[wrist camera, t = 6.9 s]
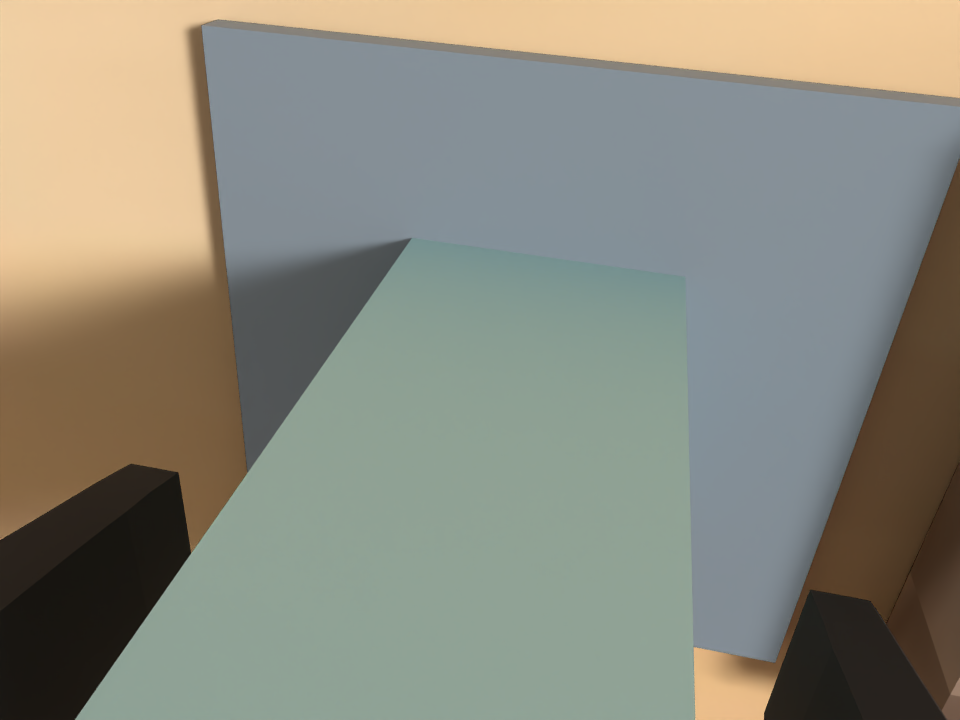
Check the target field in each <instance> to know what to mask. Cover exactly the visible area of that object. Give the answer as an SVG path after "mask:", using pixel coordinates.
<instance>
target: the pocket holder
mask: <svg viewBox="0 0 960 720" xmlns="http://www.w3.org/2000/svg"><path fill="white" fill-rule="evenodd" d="M886 625H887V627H888V628H889V630H890V631H891V633H892V635H893V636H894V638H895V639H896V641H897V642H898V644H899V646H900V647H901V649H902V650H903V652H904V653H905V655H906V657H907V658H908V660H909V661H910V663H911V664H912V666H913V668H914V669H915V671H916V672H917V674H918V675H919V677H920V679H921V680H922V682H923V683H924V685H925V686H926V688H927V689H928V691H929V692H930V694H931V696H932V697H933V699H934V700H935V702H936V703H937V705H938V706H939V708H940V709H941V711H942V712H943V714H944V715H945V717H946V719H947V720H960V463H959V465H958V467H957V469H956V471H955V474H954V476H953V478H952V480H951V482H950V485H949V487H948V489H947V491H946V494H945V496H944V498H943V500H942V502H941V505H940V507H939V509H938V511H937V513H936V516H935V518H934V520H933V522H932V525H931V527H930V529H929V531H928V533H927V536H926V538H925V540H924V542H923V544H922V547H921V549H920V551H919V553H918V556H917V558H916V560H915V562H914V564H913V567H912V569H911V571H910V573H909V575H908V578H907V580H906V582H905V584H904V586H903V589H902V591H901V593H900V595H899V598H898V600H897V602H896V604H895V606H894V609H893V611H892V613H891V615H890V617H889V620H888V622H887V624H886Z"/></svg>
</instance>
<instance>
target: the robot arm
mask: <svg viewBox="0 0 960 720" xmlns="http://www.w3.org/2000/svg"><path fill="white" fill-rule="evenodd" d="M190 555H191V550H190V544H189V537H188V531H187V524H186V518H185V512H184V505H183V499H182V493H181V486H180V480H179V474H178V472H173V471H167V470H162V469H157V468H151V467H146V466H140V465H135V464H129V465H128V466H126V467H124V468H122V469H120V470H118V471H117V472H115V473H113V474H111V475H109V476H108V477H106V478H104V479H102V480H101V481H99V482H97V483H96V484H94V485H92V486H90V487H89V488H87V489H85V490H84V491H82V492H80V493H79V494H77V495H75V496H74V497H72V498H70V499H69V500H67V501H65V502H64V503H62V504H60V505H59V506H57V507H55V508H54V509H52V510H50V511H49V512H47V513H45V514H44V515H42V516H40V517H39V518H37V519H35V520H34V521H32V522H30V523H29V524H27V525H25V526H24V527H22V528H20V529H18V530H17V531H15V532H13V533H12V534H10V535H8V536H7V537H5V538H3V539H1V540H0V720H75V719H76V718H77V716H78V715H79V713H80V712H81V710H82V709H83V708H84V706H85V705H86V703H87V702H88V700H89V699H90V698H91V696H92V695H93V693H94V692H95V690H96V689H97V688H98V686H99V685H100V683H101V682H102V680H103V679H104V678H105V676H106V675H107V673H108V672H109V670H110V669H111V668H112V666H113V665H114V663H115V662H116V660H117V659H118V658H119V656H120V655H121V653H122V652H123V650H124V649H125V648H126V646H127V645H128V643H129V642H130V640H131V639H132V638H133V636H134V635H135V633H136V632H137V630H138V629H139V628H140V626H141V625H142V623H143V622H144V620H145V619H146V617H147V616H148V615H149V613H150V612H151V610H152V609H153V607H154V606H155V605H156V603H157V602H158V600H159V599H160V597H161V596H162V595H163V593H164V592H165V590H166V589H167V587H168V586H169V585H170V583H171V582H172V580H173V579H174V577H175V576H176V575H177V573H178V572H179V570H180V569H181V567H182V566H183V565H184V563H185V562H186V560H187V559H188V557H189V556H190ZM764 720H947V719H946V717H945V715H944V714H943V712H942V711H941V709H940V708H939V706H938V705H937V703H936V702H935V700H934V699H933V697H932V696H931V694H930V692H929V691H928V689H927V688H926V686H925V685H924V683H923V682H922V680H921V679H920V677H919V675H918V674H917V672H916V671H915V669H914V668H913V666H912V664H911V663H910V661H909V660H908V658H907V657H906V655H905V653H904V652H903V650H902V649H901V647H900V646H899V644H898V642H897V641H896V639H895V638H894V636H893V635H892V633H891V631H890V630H889V628H888V627H887V625H886V624H885V622H884V620H883V619H882V617H881V616H880V614H879V613H878V611H877V610H876V608H875V607H874V606H873V604H872V603H871V601H868V600H863V599H858V598H852V597H847V596H842V595H836V594H831V593H825V592H820V591H815V590H810V591H809V594H808V597H807V599H806V602H805V605H804V607H803V610H802V613H801V615H800V618H799V621H798V623H797V626H796V629H795V632H794V634H793V637H792V640H791V642H790V645H789V648H788V650H787V653H786V656H785V658H784V661H783V664H782V666H781V669H780V672H779V674H778V677H777V680H776V683H775V685H774V688H773V691H772V693H771V696H770V699H769V701H768V704H767V707H766V709H765V712H764Z"/></svg>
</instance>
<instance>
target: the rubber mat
mask: <svg viewBox="0 0 960 720" xmlns="http://www.w3.org/2000/svg"><path fill="white" fill-rule="evenodd" d="M201 26H202V35H203V45H204V55H205V64H206V74H207V84H208V94H209V103H210V113H211V123H212V133H213V142H214V152H215V162H216V171H217V181H218V191H219V201H220V210H221V220H222V230H223V240H224V249H225V259H226V269H227V278H228V288H229V298H230V308H231V317H232V327H233V337H234V347H235V356H236V366H237V376H238V385H239V395H240V405H241V415H242V424H243V434H244V444H245V454H246V463H247V473H248V472H249V470H250V469H251V467H252V466H253V465H254V463H255V462H256V460H257V459H258V457H259V456H260V455H261V453H262V452H263V450H264V449H265V447H266V446H267V445H268V443H269V442H270V440H271V439H272V437H273V436H274V435H275V433H276V432H277V430H278V429H279V427H280V426H281V425H282V423H283V422H284V420H285V419H286V417H287V416H288V415H289V413H290V412H291V410H292V409H293V407H294V406H295V405H296V403H297V402H298V400H299V399H300V397H301V396H302V395H303V393H304V392H305V390H306V389H307V387H308V386H309V385H310V383H311V382H312V380H313V379H314V377H315V376H316V375H317V373H318V372H319V370H320V369H321V367H322V366H323V365H324V363H325V362H326V360H327V359H328V357H329V356H330V355H331V353H332V352H333V350H334V349H335V347H336V346H337V345H338V343H339V342H340V340H341V339H342V337H343V336H344V335H345V333H346V332H347V330H348V329H349V327H350V326H351V325H352V323H353V322H354V320H355V319H356V317H357V316H358V315H359V313H360V312H361V310H362V309H363V307H364V306H365V305H366V303H367V302H368V300H369V299H370V297H371V296H372V295H373V293H374V292H375V290H376V289H377V287H378V286H379V285H380V283H381V282H382V280H383V279H384V277H385V276H386V275H387V273H388V272H389V270H390V269H391V267H392V266H393V265H394V263H395V262H396V260H397V259H398V257H399V256H400V255H401V253H402V252H403V250H404V249H405V247H406V246H407V245H408V243H409V242H410V240H411V239H412V238H417V239H424V240H431V241H438V242H445V243H452V244H459V245H466V246H473V247H480V248H487V249H494V250H501V251H508V252H515V253H522V254H529V255H536V256H543V257H550V258H557V259H564V260H571V261H578V262H585V263H592V264H599V265H606V266H613V267H620V268H627V269H634V270H641V271H648V272H655V273H662V274H669V275H676V276H683V277H685V285H686V331H687V376H688V421H689V467H690V512H691V558H692V603H693V647H697V648H702V649H707V650H713V651H718V652H723V653H728V654H733V655H738V656H743V657H748V658H753V659H758V660H763V661H768V662H773V663H775V662H776V659H777V656H778V654H779V651H780V648H781V645H782V643H783V640H784V637H785V635H786V632H787V629H788V626H789V624H790V621H791V618H792V615H793V613H794V610H795V607H796V604H797V602H798V599H799V596H800V593H801V591H802V588H803V585H804V583H805V580H806V577H807V574H808V572H809V569H810V566H811V563H812V561H813V558H814V555H815V552H816V550H817V547H818V544H819V541H820V539H821V536H822V533H823V531H824V528H825V525H826V522H827V520H828V517H829V514H830V511H831V509H832V506H833V503H834V500H835V498H836V495H837V492H838V490H839V487H840V484H841V481H842V479H843V476H844V473H845V470H846V468H847V465H848V462H849V459H850V457H851V454H852V451H853V448H854V446H855V443H856V440H857V438H858V435H859V432H860V429H861V427H862V424H863V421H864V418H865V416H866V413H867V410H868V407H869V405H870V402H871V399H872V396H873V394H874V391H875V388H876V386H877V383H878V380H879V377H880V375H881V372H882V369H883V366H884V364H885V361H886V358H887V355H888V353H889V350H890V347H891V344H892V342H893V339H894V336H895V334H896V331H897V328H898V325H899V323H900V320H901V317H902V314H903V312H904V309H905V306H906V303H907V301H908V298H909V295H910V292H911V290H912V287H913V284H914V282H915V279H916V276H917V273H918V271H919V268H920V265H921V262H922V260H923V257H924V254H925V251H926V249H927V246H928V243H929V241H930V238H931V235H932V232H933V230H934V227H935V224H936V221H937V219H938V216H939V213H940V210H941V208H942V205H943V202H944V199H945V197H946V194H947V191H948V189H949V186H950V183H951V180H952V178H953V175H954V172H955V169H956V167H957V164H958V161H959V158H960V98H952V97H943V96H934V95H924V94H915V93H905V92H896V91H886V90H877V89H868V88H858V87H849V86H839V85H830V84H821V83H811V82H802V81H792V80H783V79H773V78H764V77H755V76H745V75H736V74H726V73H717V72H708V71H698V70H689V69H679V68H670V67H660V66H651V65H642V64H632V63H623V62H613V61H604V60H595V59H585V58H576V57H566V56H557V55H547V54H538V53H529V52H519V51H510V50H500V49H491V48H482V47H472V46H463V45H453V44H444V43H434V42H425V41H416V40H406V39H397V38H387V37H378V36H369V35H359V34H350V33H340V32H331V31H321V30H312V29H303V28H293V27H284V26H274V25H265V24H256V23H246V22H237V21H227V20H215V21H213V22H210V23H207V24H204V25H201Z"/></svg>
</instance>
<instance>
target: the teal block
mask: <svg viewBox="0 0 960 720" xmlns="http://www.w3.org/2000/svg"><path fill="white" fill-rule="evenodd" d="M75 720H695V694H694V649H693V603H692V558H691V512H690V467H689V421H688V376H687V331H686V285H685V277H683V276H676V275H669V274H662V273H655V272H648V271H641V270H634V269H627V268H620V267H613V266H606V265H599V264H592V263H585V262H578V261H571V260H564V259H557V258H550V257H543V256H536V255H529V254H522V253H515V252H508V251H501V250H494V249H487V248H480V247H473V246H466V245H459V244H452V243H445V242H438V241H431V240H424V239H417V238H412V239H411V240H410V242H409V243H408V245H407V246H406V247H405V249H404V250H403V252H402V253H401V255H400V256H399V257H398V259H397V260H396V262H395V263H394V265H393V266H392V267H391V269H390V270H389V272H388V273H387V275H386V276H385V277H384V279H383V280H382V282H381V283H380V285H379V286H378V287H377V289H376V290H375V292H374V293H373V295H372V296H371V297H370V299H369V300H368V302H367V303H366V305H365V306H364V307H363V309H362V310H361V312H360V313H359V315H358V316H357V317H356V319H355V320H354V322H353V323H352V325H351V326H350V327H349V329H348V330H347V332H346V333H345V335H344V336H343V337H342V339H341V340H340V342H339V343H338V345H337V346H336V347H335V349H334V350H333V352H332V353H331V355H330V356H329V357H328V359H327V360H326V362H325V363H324V365H323V366H322V367H321V369H320V370H319V372H318V373H317V375H316V376H315V377H314V379H313V380H312V382H311V383H310V385H309V386H308V387H307V389H306V390H305V392H304V393H303V395H302V396H301V397H300V399H299V400H298V402H297V403H296V405H295V406H294V407H293V409H292V410H291V412H290V413H289V415H288V416H287V417H286V419H285V420H284V422H283V423H282V425H281V426H280V427H279V429H278V430H277V432H276V433H275V435H274V436H273V437H272V439H271V440H270V442H269V443H268V445H267V446H266V447H265V449H264V450H263V452H262V453H261V455H260V456H259V457H258V459H257V460H256V462H255V463H254V465H253V466H252V467H251V469H250V470H249V472H248V473H247V475H246V476H245V477H244V479H243V480H242V482H241V483H240V485H239V486H238V487H237V489H236V490H235V492H234V493H233V495H232V496H231V497H230V499H229V500H228V502H227V503H226V505H225V506H224V507H223V509H222V510H221V512H220V513H219V515H218V516H217V517H216V519H215V520H214V522H213V523H212V525H211V526H210V527H209V529H208V530H207V532H206V533H205V535H204V536H203V537H202V539H201V540H200V542H199V543H198V545H197V546H196V547H195V549H194V550H193V552H192V553H191V555H190V556H189V557H188V559H187V560H186V562H185V563H184V565H183V566H182V567H181V569H180V570H179V572H178V573H177V575H176V576H175V577H174V579H173V580H172V582H171V583H170V585H169V586H168V587H167V589H166V590H165V592H164V593H163V595H162V596H161V597H160V599H159V600H158V602H157V603H156V605H155V606H154V607H153V609H152V610H151V612H150V613H149V615H148V616H147V617H146V619H145V620H144V622H143V623H142V625H141V626H140V628H139V629H138V630H137V632H136V633H135V635H134V636H133V638H132V639H131V640H130V642H129V643H128V645H127V646H126V648H125V649H124V650H123V652H122V653H121V655H120V656H119V658H118V659H117V660H116V662H115V663H114V665H113V666H112V668H111V669H110V670H109V672H108V673H107V675H106V676H105V678H104V679H103V680H102V682H101V683H100V685H99V686H98V688H97V689H96V690H95V692H94V693H93V695H92V696H91V698H90V699H89V700H88V702H87V703H86V705H85V706H84V708H83V709H82V710H81V712H80V713H79V715H78V716H77V718H76V719H75Z"/></svg>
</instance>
